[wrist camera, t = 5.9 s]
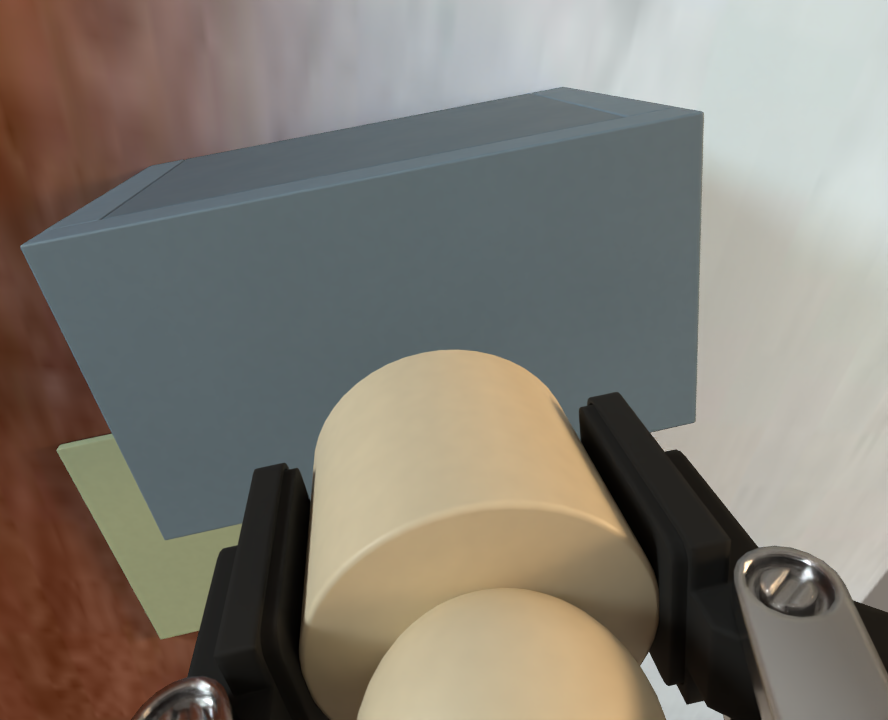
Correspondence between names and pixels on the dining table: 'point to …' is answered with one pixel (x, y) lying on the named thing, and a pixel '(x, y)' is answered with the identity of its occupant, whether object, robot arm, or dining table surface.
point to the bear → (469, 556)
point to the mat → (146, 538)
